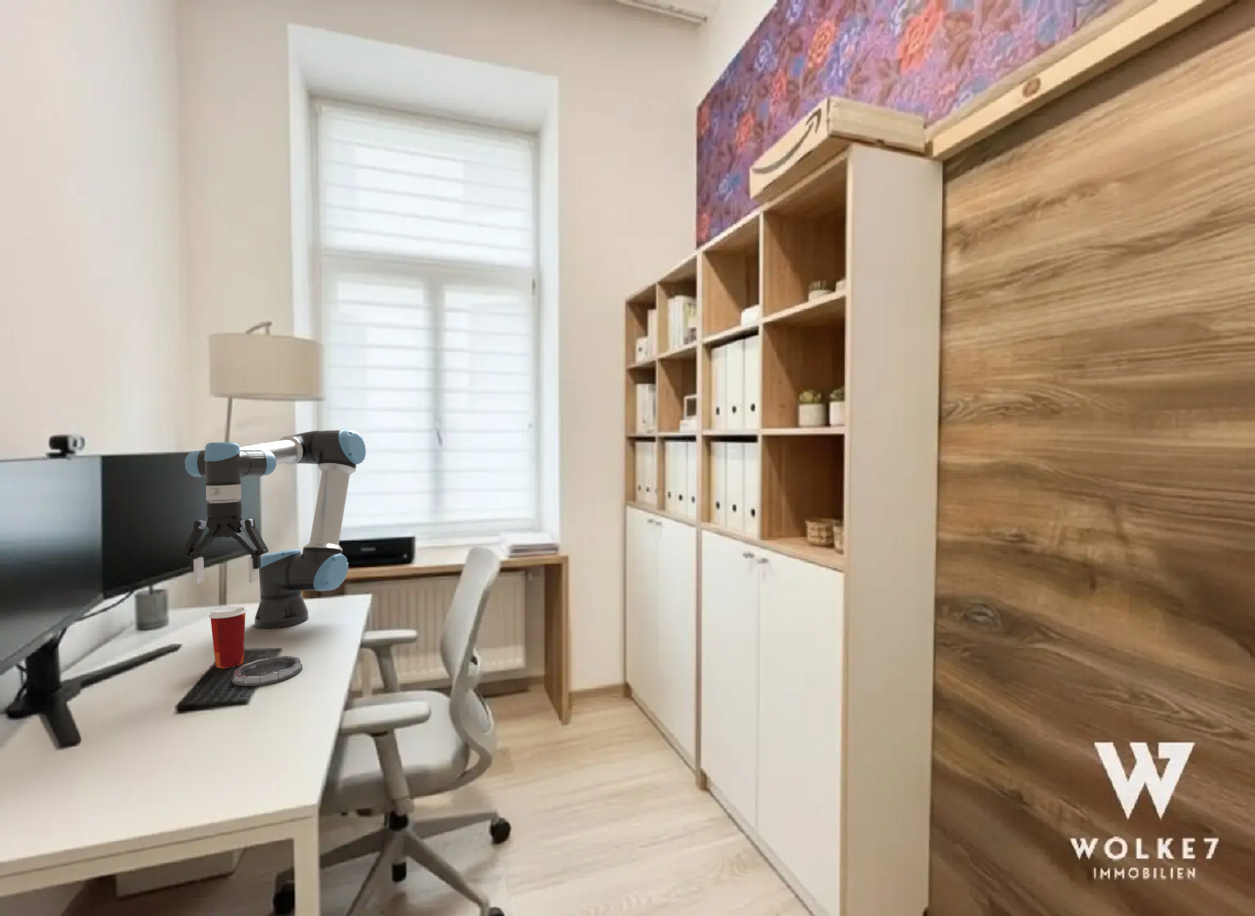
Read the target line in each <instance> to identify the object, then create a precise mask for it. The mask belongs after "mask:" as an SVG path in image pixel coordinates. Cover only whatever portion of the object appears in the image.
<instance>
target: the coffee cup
mask: <svg viewBox="0 0 1255 916" xmlns="http://www.w3.org/2000/svg"><path fill="white" fill-rule="evenodd" d="M247 612H248V611H247V609H246V607H245V605H243V604H229V605H228V604H227V605H223V606H217V607H215V608H212V610H211V612H210V613H209V615H208V617H209V618H210V625H211V626H210V627H211V634H212V635H211V636H212V645H213V654H214V662H215V663H214V664H215V668H216V667H218V668H228V667H233V666H237V667H239V666H241V665H243V664H244V659H245V658H244V657H245V635H246V613H247ZM242 663H243V664H242ZM240 664H241V665H240ZM238 665H239V666H238ZM233 668H234V667H233Z"/></svg>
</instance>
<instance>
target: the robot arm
mask: <svg viewBox="0 0 1255 916" xmlns="http://www.w3.org/2000/svg"><path fill="white" fill-rule="evenodd" d="M366 455H367V449H366V443H365V441H364V439H363V437H362V436H361V435H360V433H359V432H357V431H355V430H351V429H350V430H349V429H339V430H338V429H337V430H333V429H332V430H311V431H306V432H301V433H296V434H292V435H286V436H283V437H280V439H277V440H272V441H267V442H266V441H264V442H259V443H252V444H246V445H240V444H239V443H238V442H234V441H233V442H232V441H229V442H228V441H225V442H224V441H223V442H222V441H221V442H220V441H219V442H215V441H214V442H208V443H206V445H205V447H204V449H201V450H192V451H191V452H190V453H188V454H187V455H186V457H185V460H184V466H185V470H186V472H187V473H188V474H189V475H190V476H192V477H195V478H204V479H205V498H206V501H207V504H206V516H207V520H205V519H200V520H195V521H194V522H193V530H192V532H191V534H190V536H189V538H188V540H187V542H186V545H185V546H184V548H183V550H182V552H181V556H182V557H184V558H185V557H186V558H189V559H190V571H191V572H193V577H194V578H193V583H194V585H199V584H202V583H204V582H205V565H204V564H205V563H204V559H205V558H204V557H203V556H202V554H203V553H204V552H205V551H206V550H207V548H208V547H209V545H211V544H212V542H213V541H214V540H215V539H217V538H223V537H224V538H233V539H235V540H236V541H237V542H238V543H239V545H241V546H242V547H243V548H244V549H245V551H246V552H247V553H248V554H249V555H250V556H249V557H248V583H250V584H251V583H254V582H257V581H259V595H260V596H259V597H260V600H259V604H258V607H257V611H256V614H255V617H254V627H256V628H259V629H278V628H284V627H289V626H294V625H298V624H300V623H303V622H306V621H307V620H308V619H309V610H308V607H307V605H306V603H305V599H304V598H303V595H302V594H303V592H302V591H309V592H311V591H312V592H313V591H314V592H315V591H317V592H325V591H333V590H336V589H337V588H339V587H340V586H341V584H343V582H344V581H345V579H346V577H347V574H348V571H349V562H348V561H349V560H348V558H347V556H345V555H344V554H343V552H344V551H343V548H342V547H341V546H340V538H341V537H340V536H341V534H342V533H341V531H342V526H343V525H342V524H343V519H344V513H345V508H346V507H345V506H346V501H347V496H348V495H347V494H348V487H349V483H350V476H351V475H352V474H353V473H355V472H356V468H357V465H360V464H362V463H363V462H364V460H365V458H366ZM280 464H286V465H297V464H305V465H306V464H307V465H308V464H309V465H317V468H318V469H319V470H320V472H321V475H320V480H319V485H318V486H319V487H318V492H317V498H316V504H315V509H314V515H313V521H312V527H311V533H310V538H309V542H308V543H307V544H305V545H304V546H303V548H302V552H301V549H299V548H292V549H291V548H290V549H286V550H278V551H274V552H269V548H268V546H267V545H266V543H265V541H264V539H263V538H262V535H261V534H260V532H259V530H258V528H257V527H256V521H255V519H254V518H248V519H244V520H243V519H242V514H243V510H242V507H243V506H242V502H241V499H242V485H241V484H242V480H241V479H242V478H251V477H263V476H268V475H270V474H272V473H273V472H274V471H275V470H276V467H277V465H280ZM239 500H240V501H239ZM242 527H244V528H245V530H246V533H247V535H248V536H249V537H248V536H247V535H246V533H245V532H244V531H243V529H242ZM206 528H207V529H209V530H208V531H207V532H206V534H205V535H204V537H203V539H202V540H201V541H200V539H201V537H202V536H203V534H204V531H205V529H206ZM199 541H200V542H199ZM268 552H269V553H268Z"/></svg>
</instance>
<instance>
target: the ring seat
mask: <svg viewBox="0 0 1255 916" xmlns="http://www.w3.org/2000/svg"><path fill="white" fill-rule="evenodd" d="M302 671H303V664H302V663H301V660H300V658H299V657H297V656H296V657H295V656H291V655H286V656H285V655H284V656H280V655H279V656H271V657H266V658H262V659H257V660H254V661H251V662H248V663H245V664H241V665H240V666H238V668H236V669H234V673H233V676H232V678H231V683H232V682H233V683H234V684H237V685H241V686H253V687H252V688H254V687H255V688H256V687H257V688H258V687H263V686H268V685H273V684H278V683H280V682H284V681H287V680H289V679H291V678H293V677H295V676H297V675H298V674H300V673H301V672H302ZM233 683H232V684H233ZM234 684H233V685H234Z"/></svg>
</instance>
